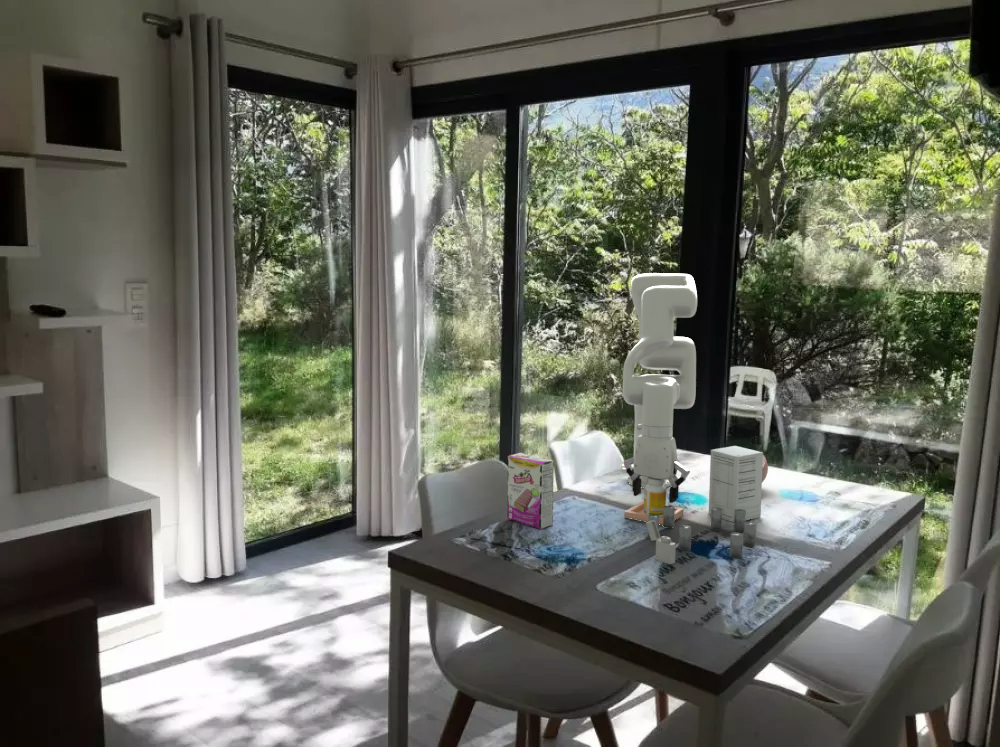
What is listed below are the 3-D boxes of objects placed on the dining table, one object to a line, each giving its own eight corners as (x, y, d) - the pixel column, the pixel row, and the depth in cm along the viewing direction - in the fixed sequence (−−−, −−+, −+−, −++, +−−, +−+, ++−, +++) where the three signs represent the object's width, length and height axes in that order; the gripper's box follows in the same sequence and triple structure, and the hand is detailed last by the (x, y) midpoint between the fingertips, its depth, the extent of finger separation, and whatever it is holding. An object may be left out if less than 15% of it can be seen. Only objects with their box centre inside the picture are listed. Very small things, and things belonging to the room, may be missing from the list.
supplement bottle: (639, 514, 207) (640, 477, 206) (653, 510, 210) (654, 473, 209) (655, 519, 203) (656, 481, 202) (669, 515, 206) (671, 478, 205)
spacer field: (639, 541, 189) (640, 520, 188) (677, 517, 207) (677, 497, 206) (736, 562, 176) (737, 539, 176) (767, 534, 194) (768, 514, 193)
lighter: (675, 562, 176) (676, 526, 175) (670, 564, 175) (671, 528, 174) (649, 553, 181) (650, 518, 180) (644, 555, 180) (645, 520, 179)
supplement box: (761, 517, 207) (765, 452, 204) (735, 523, 202) (738, 456, 199) (733, 507, 215) (735, 444, 212) (707, 513, 210) (709, 448, 208)
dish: (624, 518, 205) (624, 511, 205) (643, 507, 214) (643, 501, 214) (665, 527, 199) (666, 519, 199) (683, 515, 208) (683, 508, 208)
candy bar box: (506, 520, 204) (506, 455, 201) (519, 515, 207) (520, 452, 205) (540, 530, 196) (541, 463, 194) (553, 525, 200) (554, 459, 197)
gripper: (618, 429, 205) (616, 495, 208) (684, 438, 196) (681, 508, 198) (631, 424, 212) (629, 489, 214) (696, 433, 202) (693, 500, 204)
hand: (654, 498), depth 206 cm, fingers open, 9 cm apart
